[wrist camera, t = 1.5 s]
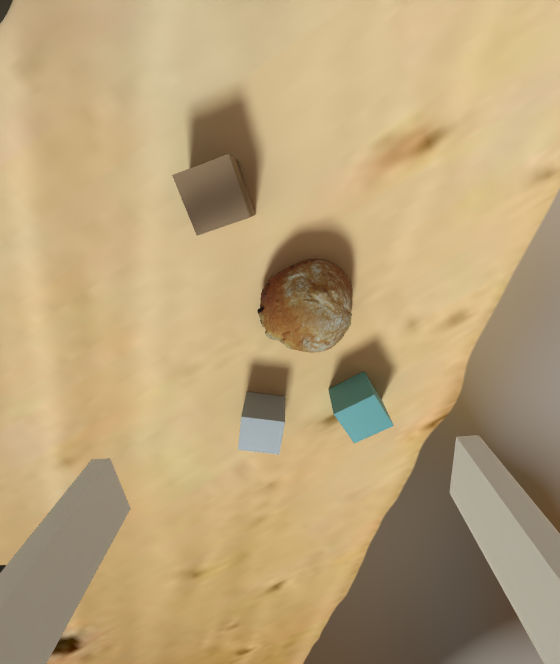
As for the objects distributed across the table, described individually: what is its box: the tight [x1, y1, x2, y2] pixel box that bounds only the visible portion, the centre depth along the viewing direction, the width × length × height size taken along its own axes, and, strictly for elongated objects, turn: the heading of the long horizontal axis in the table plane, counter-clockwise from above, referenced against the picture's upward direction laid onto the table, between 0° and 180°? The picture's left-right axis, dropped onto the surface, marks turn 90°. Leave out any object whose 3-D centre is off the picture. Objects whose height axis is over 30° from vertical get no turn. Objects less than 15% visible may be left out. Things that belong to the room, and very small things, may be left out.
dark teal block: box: [329, 372, 394, 443], centre depth 37 cm, size 5×5×5 cm
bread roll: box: [258, 259, 352, 352], centre depth 33 cm, size 10×10×8 cm
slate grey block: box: [238, 392, 285, 454], centre depth 38 cm, size 5×5×5 cm
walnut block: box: [172, 154, 255, 235], centre depth 28 cm, size 5×5×5 cm
